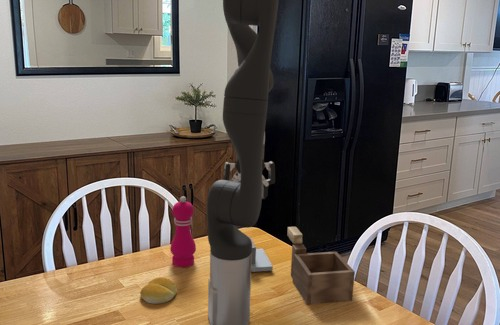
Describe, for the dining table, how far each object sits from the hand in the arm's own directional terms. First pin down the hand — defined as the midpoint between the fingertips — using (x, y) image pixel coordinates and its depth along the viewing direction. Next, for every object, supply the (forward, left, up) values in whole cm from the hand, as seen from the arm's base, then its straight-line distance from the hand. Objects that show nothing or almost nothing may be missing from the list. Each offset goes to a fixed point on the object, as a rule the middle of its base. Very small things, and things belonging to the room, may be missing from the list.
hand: (248, 198), depth 137 cm
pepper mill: (-18, +4, -20) cm, 27 cm away
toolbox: (+16, -16, -20) cm, 30 cm away
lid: (0, 0, -20) cm, 20 cm away
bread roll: (-25, -14, -20) cm, 35 cm away
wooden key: (+12, -6, -10) cm, 17 cm away
